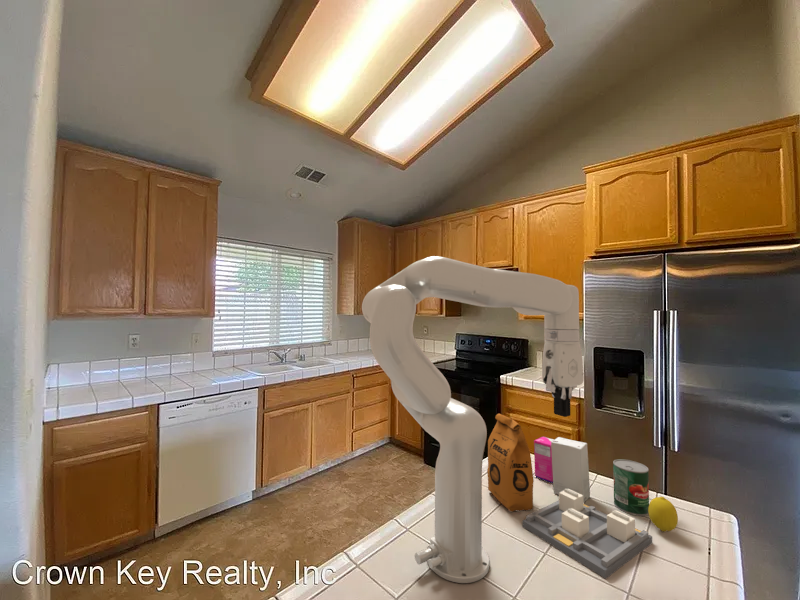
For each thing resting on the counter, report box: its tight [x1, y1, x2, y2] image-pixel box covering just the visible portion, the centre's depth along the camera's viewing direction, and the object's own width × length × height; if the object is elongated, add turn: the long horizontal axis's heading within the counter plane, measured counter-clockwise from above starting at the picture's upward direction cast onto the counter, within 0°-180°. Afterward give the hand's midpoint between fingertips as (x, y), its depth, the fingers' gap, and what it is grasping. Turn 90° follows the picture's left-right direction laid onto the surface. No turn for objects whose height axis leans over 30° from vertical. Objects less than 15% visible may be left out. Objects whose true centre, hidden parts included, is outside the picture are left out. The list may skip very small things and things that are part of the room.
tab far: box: [558, 489, 584, 512], centre depth 87 cm, size 4×4×5 cm
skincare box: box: [551, 436, 591, 504], centre depth 97 cm, size 8×6×15 cm
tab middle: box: [562, 508, 589, 538], centre depth 77 cm, size 4×4×5 cm
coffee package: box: [486, 413, 534, 513], centre depth 94 cm, size 10×12×22 cm
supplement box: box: [533, 436, 555, 484], centre depth 108 cm, size 6×6×12 cm
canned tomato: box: [612, 458, 650, 517], centre depth 92 cm, size 8×8×11 cm
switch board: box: [522, 500, 653, 580], centre depth 80 cm, size 20×19×2 cm
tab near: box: [606, 509, 636, 543], centre depth 77 cm, size 4×4×5 cm
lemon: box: [648, 496, 679, 533], centre depth 81 cm, size 6×6×8 cm
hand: (562, 414), depth 81 cm, fingers closed
